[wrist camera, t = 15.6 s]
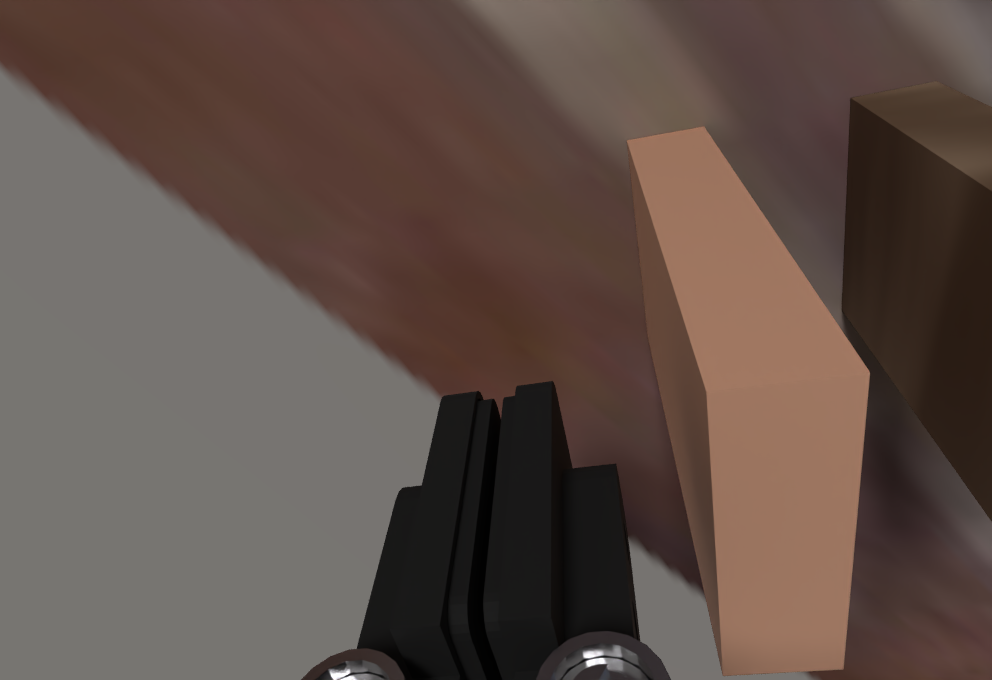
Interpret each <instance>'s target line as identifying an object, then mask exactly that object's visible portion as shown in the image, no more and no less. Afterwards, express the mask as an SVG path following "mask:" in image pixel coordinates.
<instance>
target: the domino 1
mask: <svg viewBox="0 0 992 680" xmlns="http://www.w3.org/2000/svg"><path fill="white" fill-rule="evenodd" d="M627 147H628V157H629V166H630V175H631V185H632V194H633V204H634V213H635V222H636V232H637V241H638V251H639V260H640V269H641V279H642V288H643V298H644V307H645V316H646V326H647V335H648V341H649V345H650V350H651V354H652V359H653V363H654V368H655V372H656V377H657V381H658V386H659V390H660V395H661V399H662V404H663V408H664V413H665V417H666V422H667V426H668V431H669V435H670V440H671V444H672V449H673V453H674V458H675V462H676V467H677V471H678V476H679V481H680V485H681V490H682V494H683V499H684V503H685V508H686V512H687V517H688V521H689V526H690V530H691V535H692V539H693V544H694V548H695V553H696V557H697V562H698V566H699V571H700V575H701V580H702V584H703V589H704V593H705V598H706V602H707V607H708V611H709V616H710V620H711V625H712V629H713V633H714V638H715V643H716V647H717V651H718V656H719V661H720V665H721V670H722V674H723V676H731V675H750V674H766V673H767V674H768V673H785V672H804V671H821V670H839V669H843V667H844V656H845V645H846V634H847V623H848V612H849V601H850V590H851V579H852V568H853V556H854V545H855V534H856V523H857V512H858V501H859V490H860V479H861V468H862V457H863V446H864V435H865V423H866V412H867V401H868V390H869V379H870V372H869V370H868V369H867V367H866V366H865V364H864V363H863V361H862V360H861V358H860V357H859V355H858V354H857V352H856V351H855V349H854V348H853V346H852V345H851V343H850V342H849V340H848V339H847V338H846V336H845V335H844V333H843V332H842V330H841V329H840V327H839V326H838V324H837V323H836V321H835V320H834V318H833V317H832V315H831V314H830V312H829V311H828V309H827V308H826V306H825V305H824V303H823V302H822V301H821V299H820V298H819V296H818V295H817V293H816V292H815V290H814V289H813V287H812V286H811V284H810V283H809V281H808V280H807V278H806V277H805V275H804V274H803V272H802V271H801V269H800V268H799V266H798V265H797V263H796V262H795V261H794V259H793V258H792V256H791V255H790V253H789V252H788V250H787V249H786V247H785V246H784V244H783V243H782V241H781V240H780V238H779V237H778V235H777V234H776V232H775V231H774V229H773V228H772V226H771V225H770V224H769V222H768V221H767V219H766V218H765V216H764V215H763V213H762V212H761V210H760V209H759V207H758V206H757V204H756V203H755V201H754V200H753V198H752V197H751V195H750V194H749V192H748V191H747V189H746V188H745V187H744V185H743V184H742V182H741V181H740V179H739V178H738V176H737V175H736V173H735V172H734V170H733V169H732V167H731V166H730V164H729V163H728V161H727V160H726V158H725V157H724V155H723V154H722V152H721V151H720V150H719V148H718V147H717V145H716V144H715V142H714V141H713V139H712V138H711V136H710V135H709V133H708V132H707V130H706V129H705V127H698V128H693V129H687V130H682V131H676V132H671V133H665V134H659V135H654V136H648V137H643V138H637V139H632V140H627Z"/></svg>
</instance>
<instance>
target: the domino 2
mask: <svg viewBox="0 0 992 680" xmlns="http://www.w3.org/2000/svg"><path fill="white" fill-rule="evenodd" d="M842 311H843V312H844V314H845V315H846V317H847V318H848V319H849V321H850V322H851V324H852V325H853V326H854V328H855V329H856V331H857V332H858V333H859V335H860V336H861V338H862V339H863V341H864V342H865V343H866V345H867V346H868V348H869V349H870V350H871V352H872V353H873V355H874V356H875V357H876V359H877V360H878V362H879V363H880V365H881V366H882V367H883V369H884V370H885V372H886V373H887V374H888V376H889V377H890V379H891V380H892V381H893V383H894V384H895V386H896V387H897V389H898V390H899V391H900V393H901V394H902V396H903V397H904V398H905V400H906V401H907V403H908V404H909V405H910V407H911V408H912V410H913V411H914V413H915V414H916V415H917V417H918V418H919V420H920V421H921V422H922V424H923V425H924V427H925V428H926V429H927V431H928V432H929V434H930V435H931V437H932V438H933V439H934V441H935V442H936V444H937V445H938V446H939V448H940V449H941V451H942V452H943V453H944V455H945V456H946V458H947V459H948V461H949V462H950V463H951V465H952V466H953V468H954V469H955V470H956V472H957V473H958V475H959V476H960V477H961V479H962V480H963V482H964V483H965V485H966V486H967V487H968V489H969V490H970V492H971V493H972V494H973V496H974V497H975V499H976V500H977V501H978V503H979V504H980V506H981V507H982V509H983V510H984V511H985V513H986V514H987V516H988V517H989V518H990V520H991V521H992V107H990V106H988V105H986V104H984V103H982V102H979V101H977V100H975V99H973V98H971V97H969V96H967V95H965V94H962V93H960V92H958V91H956V90H954V89H952V88H950V87H948V86H946V85H943V84H941V83H939V82H937V81H935V82H930V83H925V84H920V85H914V86H909V87H904V88H899V89H894V90H889V91H884V92H878V93H873V94H868V95H863V96H858V97H853V98H851V103H850V127H849V151H848V174H847V198H846V222H845V245H844V269H843V293H842Z"/></svg>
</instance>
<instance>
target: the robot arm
mask: <svg viewBox="0 0 992 680" xmlns="http://www.w3.org/2000/svg"><path fill="white" fill-rule="evenodd" d="M301 680H671V679H670V677H669V675H668V673H667V671H666V669H665V667H664V665H663V663H662V661H661V659H660V658H659V657H658V656H657V655H656V654H655V653H654V652H653V651H652V650H651V649H650V648H649V647H648V646H647V645H645V644H643V643H642V642H640V635H639V627H638V619H637V610H636V601H635V592H634V584H633V575H632V567H631V558H630V550H629V542H628V535H627V528H626V521H625V514H624V507H623V501H622V495H621V489H620V483H619V477H618V471H617V466H616V464H609V465H600V466H591V467H582V468H572V464H571V459H570V454H569V449H568V445H567V440H566V435H565V430H564V426H563V421H562V416H561V411H560V407H559V402H558V397H557V393H556V388H555V385H554V382H553V381H550V382H543V383H535V384H528V385H521V386H517V387H516V392H515V396H511V397H505V398H504V399H503V407H502V417H501V418H500V415H499V411H498V407H497V404H496V402H495V400H494V399H489V400H483V397H482V395H481V393H480V392H479V391H476V392H469V393H461V394H454V395H447V396H443V397H442V399H441V402H440V407H439V411H438V416H437V420H436V425H435V429H434V434H433V438H432V443H431V448H430V452H429V456H428V461H427V465H426V469H425V474H424V479H423V483H422V486H414V487H405V488H402V489H401V490H400V491H399V493H398V495H397V498H396V501H395V505H394V508H393V512H392V516H391V520H390V524H389V527H388V532H387V535H386V539H385V543H384V547H383V550H382V554H381V558H380V562H379V565H378V570H377V573H376V577H375V581H374V585H373V589H372V592H371V596H370V600H369V604H368V608H367V611H366V615H365V619H364V623H363V627H362V630H361V634H360V638H359V642H358V646H357V649H351V650H347V651H344V652H341V653H338V654H336V655H333V656H330V657H329V658H327V659H326V660H324V661H323V662H321V663H320V664H318V665H316V666H315V667H313V668H312V669H311V670H310V671H309V672H308V673H307V674H306V675H305V676H304V677H303V678H302V679H301Z"/></svg>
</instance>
